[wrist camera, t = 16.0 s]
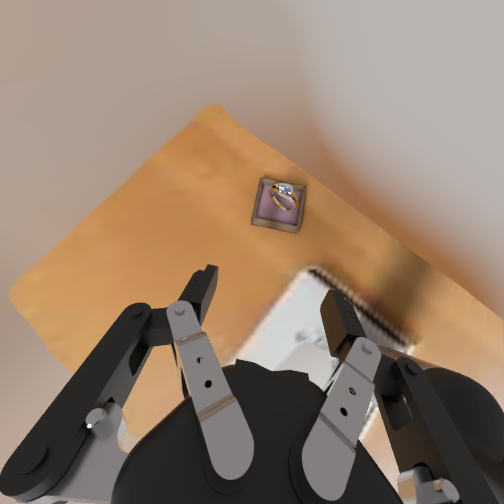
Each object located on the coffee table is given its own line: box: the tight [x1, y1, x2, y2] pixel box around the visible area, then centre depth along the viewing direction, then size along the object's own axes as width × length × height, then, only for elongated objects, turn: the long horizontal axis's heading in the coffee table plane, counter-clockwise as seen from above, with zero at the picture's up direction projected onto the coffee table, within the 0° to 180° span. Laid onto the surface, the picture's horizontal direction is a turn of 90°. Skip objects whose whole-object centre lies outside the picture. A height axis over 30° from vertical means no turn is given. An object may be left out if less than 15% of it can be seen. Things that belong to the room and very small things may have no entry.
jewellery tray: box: [251, 177, 306, 234], centre depth 45 cm, size 11×11×2 cm
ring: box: [268, 183, 298, 213], centre depth 42 cm, size 7×3×8 cm, turn 46°
